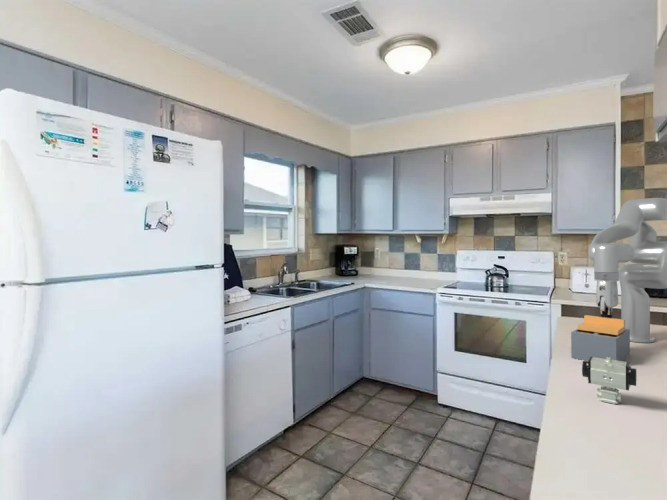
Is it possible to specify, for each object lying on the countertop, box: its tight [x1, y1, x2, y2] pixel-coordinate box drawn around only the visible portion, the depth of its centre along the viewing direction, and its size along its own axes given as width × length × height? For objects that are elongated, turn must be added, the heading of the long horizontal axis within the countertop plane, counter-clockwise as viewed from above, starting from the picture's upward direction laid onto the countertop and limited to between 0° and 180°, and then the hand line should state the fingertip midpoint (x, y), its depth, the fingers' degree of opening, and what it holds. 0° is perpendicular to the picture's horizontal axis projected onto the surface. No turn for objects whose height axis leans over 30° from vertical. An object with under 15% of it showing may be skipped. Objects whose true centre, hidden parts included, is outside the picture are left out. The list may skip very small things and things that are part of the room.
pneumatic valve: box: [581, 357, 638, 405], centre depth 104 cm, size 6×12×12 cm, turn 50°
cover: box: [577, 314, 625, 335], centre depth 141 cm, size 9×12×4 cm
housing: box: [570, 328, 631, 362], centre depth 141 cm, size 18×14×10 cm
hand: (606, 324), depth 146 cm, fingers closed
